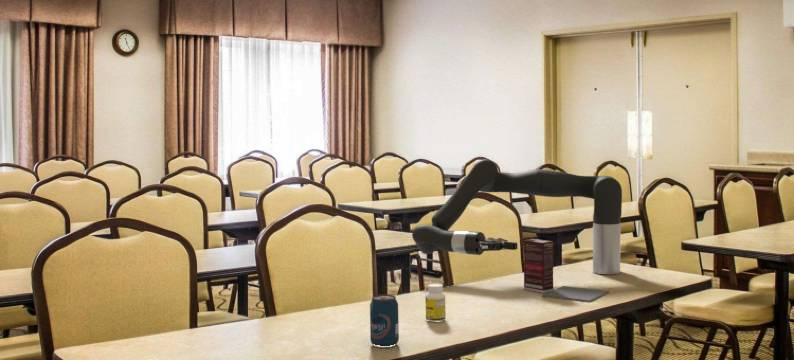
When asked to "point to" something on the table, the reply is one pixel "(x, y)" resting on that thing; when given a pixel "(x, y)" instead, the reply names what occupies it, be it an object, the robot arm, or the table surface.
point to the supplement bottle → (435, 303)
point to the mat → (576, 293)
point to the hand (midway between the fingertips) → (516, 246)
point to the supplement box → (538, 265)
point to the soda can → (384, 320)
